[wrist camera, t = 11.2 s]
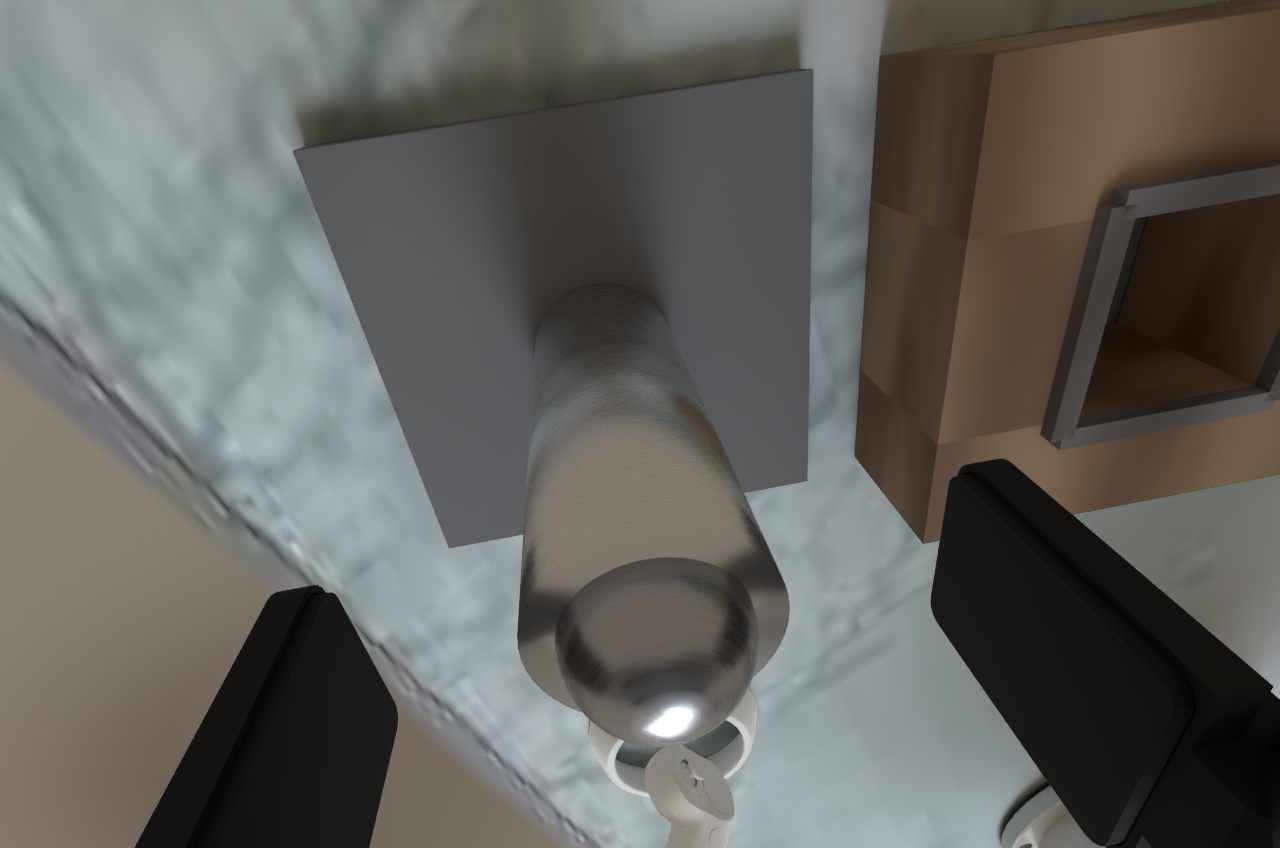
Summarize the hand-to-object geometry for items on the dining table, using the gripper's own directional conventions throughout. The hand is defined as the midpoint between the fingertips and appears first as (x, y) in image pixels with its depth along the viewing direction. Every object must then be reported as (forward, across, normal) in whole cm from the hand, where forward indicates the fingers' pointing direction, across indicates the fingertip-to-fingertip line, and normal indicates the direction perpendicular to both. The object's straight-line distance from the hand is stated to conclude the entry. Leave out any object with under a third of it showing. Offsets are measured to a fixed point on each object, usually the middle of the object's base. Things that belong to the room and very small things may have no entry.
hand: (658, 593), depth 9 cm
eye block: (+10, -14, 0) cm, 17 cm away
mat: (+10, 0, 0) cm, 10 cm away
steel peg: (+9, 0, 0) cm, 9 cm away
